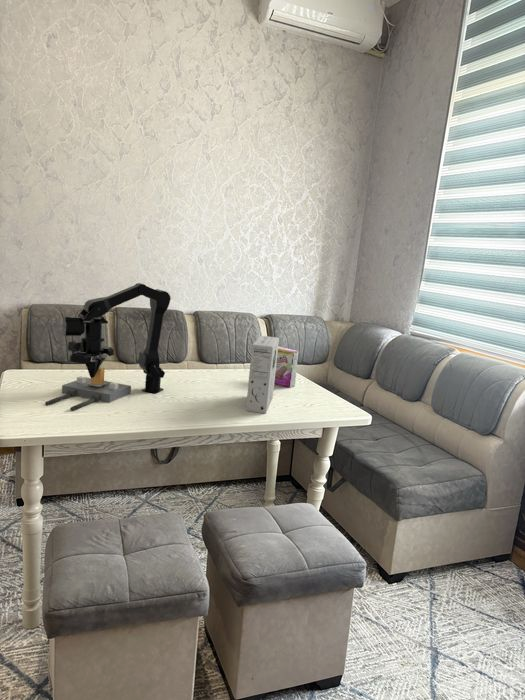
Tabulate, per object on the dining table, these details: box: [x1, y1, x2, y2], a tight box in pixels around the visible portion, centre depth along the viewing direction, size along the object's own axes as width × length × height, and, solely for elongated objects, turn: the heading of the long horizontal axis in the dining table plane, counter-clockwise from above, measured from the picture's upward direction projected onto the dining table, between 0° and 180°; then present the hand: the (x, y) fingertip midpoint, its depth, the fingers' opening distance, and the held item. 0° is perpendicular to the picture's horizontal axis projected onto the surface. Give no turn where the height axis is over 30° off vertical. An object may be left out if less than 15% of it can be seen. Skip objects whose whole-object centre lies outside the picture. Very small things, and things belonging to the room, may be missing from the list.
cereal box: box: [245, 335, 280, 414], centre depth 194 cm, size 22×8×25 cm, turn 172°
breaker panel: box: [61, 375, 132, 404], centre depth 188 cm, size 16×20×5 cm
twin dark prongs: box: [44, 393, 96, 412], centre depth 176 cm, size 15×11×1 cm
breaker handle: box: [87, 366, 107, 387], centre depth 188 cm, size 5×5×6 cm
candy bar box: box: [274, 346, 300, 388], centre depth 227 cm, size 11×5×16 cm, turn 58°
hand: (92, 377), depth 185 cm, fingers closed
